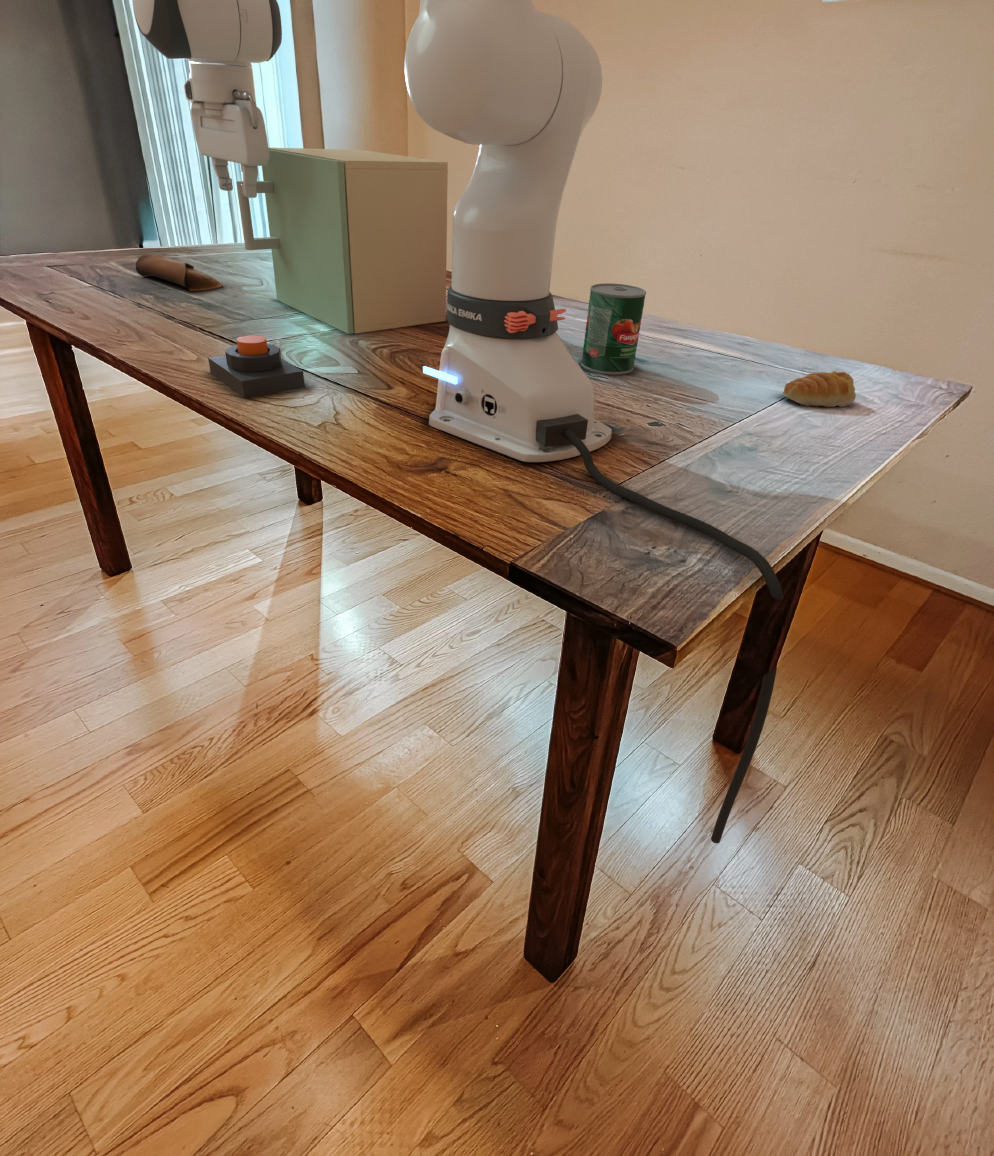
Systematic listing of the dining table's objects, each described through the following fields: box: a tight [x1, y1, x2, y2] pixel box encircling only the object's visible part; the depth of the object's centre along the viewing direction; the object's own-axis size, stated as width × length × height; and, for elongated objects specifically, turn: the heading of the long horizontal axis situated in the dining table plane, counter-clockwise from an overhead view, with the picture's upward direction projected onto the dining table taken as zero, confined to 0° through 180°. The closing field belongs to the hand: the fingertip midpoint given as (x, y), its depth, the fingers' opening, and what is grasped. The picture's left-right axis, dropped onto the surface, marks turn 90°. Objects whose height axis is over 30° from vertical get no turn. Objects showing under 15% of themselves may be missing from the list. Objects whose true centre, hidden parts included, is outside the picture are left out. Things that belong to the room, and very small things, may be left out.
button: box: [236, 334, 268, 355], centre depth 88 cm, size 4×4×2 cm
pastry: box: [781, 370, 857, 408], centre depth 95 cm, size 9×7×4 cm
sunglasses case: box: [135, 254, 224, 293], centre depth 134 cm, size 18×7×7 cm
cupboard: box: [269, 147, 449, 334], centre depth 118 cm, size 18×26×24 cm
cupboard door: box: [235, 149, 355, 335], centre depth 111 cm, size 7×26×24 cm, turn 39°
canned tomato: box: [580, 282, 647, 376], centre depth 101 cm, size 8×8×11 cm
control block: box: [207, 343, 306, 399], centre depth 89 cm, size 11×8×4 cm
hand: (237, 193), depth 112 cm, fingers open, 8 cm apart
